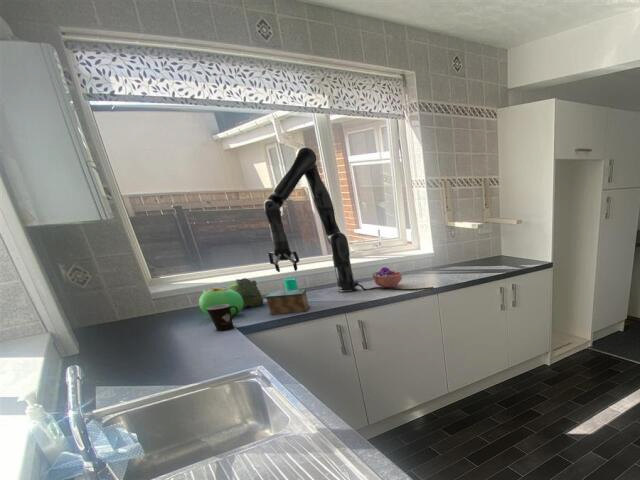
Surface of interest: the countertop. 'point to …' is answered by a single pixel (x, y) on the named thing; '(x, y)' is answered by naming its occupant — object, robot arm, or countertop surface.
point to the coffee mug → (222, 316)
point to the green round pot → (221, 299)
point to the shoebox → (287, 301)
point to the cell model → (387, 278)
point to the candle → (290, 284)
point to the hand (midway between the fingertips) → (287, 271)
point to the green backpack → (249, 292)
